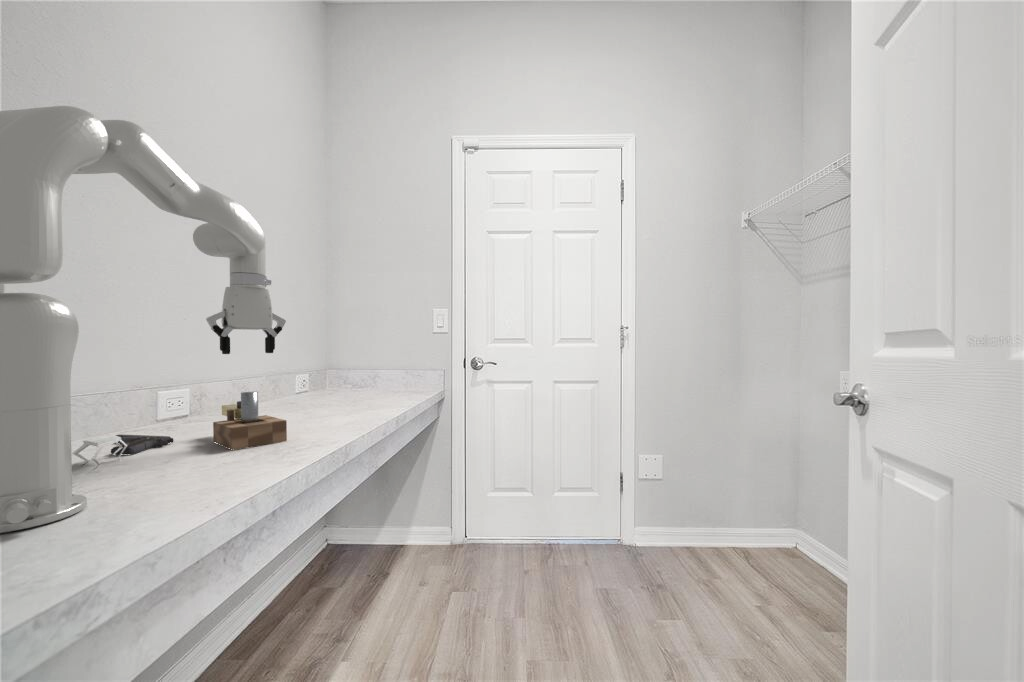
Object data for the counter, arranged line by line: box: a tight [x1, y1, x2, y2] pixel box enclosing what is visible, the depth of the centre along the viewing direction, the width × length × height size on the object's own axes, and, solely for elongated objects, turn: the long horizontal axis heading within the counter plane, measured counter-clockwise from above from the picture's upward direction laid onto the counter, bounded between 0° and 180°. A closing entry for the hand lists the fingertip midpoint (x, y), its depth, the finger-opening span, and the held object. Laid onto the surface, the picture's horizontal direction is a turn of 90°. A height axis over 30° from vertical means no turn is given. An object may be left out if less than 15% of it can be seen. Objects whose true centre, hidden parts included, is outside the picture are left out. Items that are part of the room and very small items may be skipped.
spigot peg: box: [240, 391, 259, 424], centre depth 111 cm, size 4×4×12 cm
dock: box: [212, 409, 288, 451], centre depth 112 cm, size 12×12×8 cm
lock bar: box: [221, 400, 241, 419], centre depth 117 cm, size 10×3×4 cm, turn 50°
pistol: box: [110, 434, 175, 455], centre depth 107 cm, size 2×19×12 cm
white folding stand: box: [71, 434, 127, 470], centre depth 93 cm, size 12×8×5 cm
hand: (248, 353), depth 111 cm, fingers open, 9 cm apart
